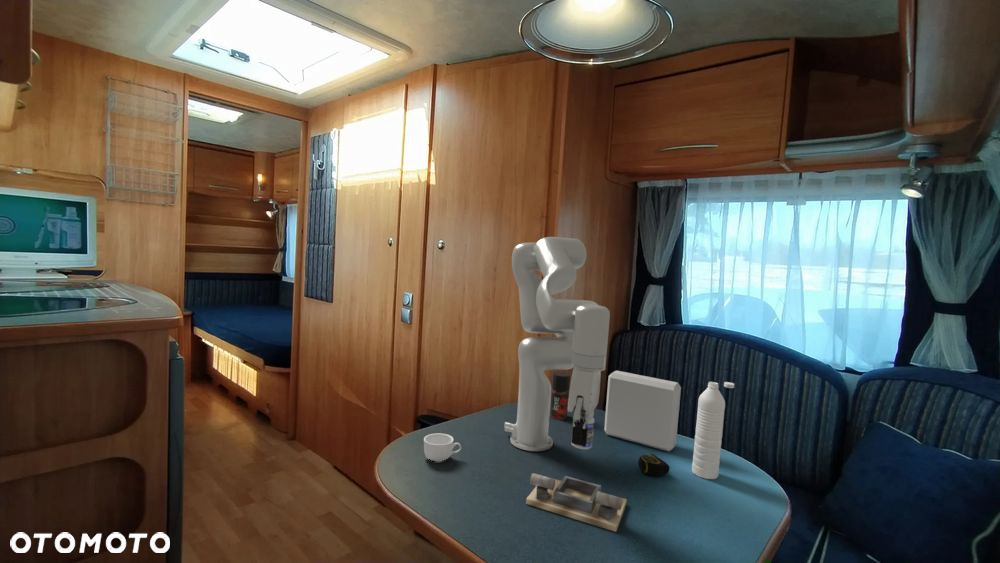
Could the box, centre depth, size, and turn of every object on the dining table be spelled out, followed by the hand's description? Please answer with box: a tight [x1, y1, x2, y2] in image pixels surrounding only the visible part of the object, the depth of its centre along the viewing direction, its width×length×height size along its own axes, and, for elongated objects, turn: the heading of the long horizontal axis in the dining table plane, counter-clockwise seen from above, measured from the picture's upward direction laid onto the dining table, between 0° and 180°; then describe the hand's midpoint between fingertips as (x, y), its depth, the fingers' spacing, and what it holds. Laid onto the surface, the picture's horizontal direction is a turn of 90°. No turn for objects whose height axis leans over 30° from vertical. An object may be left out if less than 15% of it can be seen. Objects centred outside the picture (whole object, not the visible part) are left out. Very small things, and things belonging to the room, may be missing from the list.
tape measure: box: [637, 453, 670, 477], centre depth 122 cm, size 7×7×4 cm
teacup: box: [423, 432, 462, 461], centre depth 122 cm, size 10×8×5 cm
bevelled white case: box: [603, 370, 682, 452], centre depth 142 cm, size 21×8×20 cm, turn 58°
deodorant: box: [549, 371, 571, 421], centre depth 159 cm, size 6×6×15 cm
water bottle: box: [691, 381, 735, 480], centre depth 122 cm, size 9×6×25 cm
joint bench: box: [525, 472, 627, 533], centre depth 104 cm, size 20×12×6 cm, turn 65°
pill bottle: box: [570, 409, 596, 450], centre depth 103 cm, size 5×5×8 cm
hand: (582, 439), depth 103 cm, fingers closed on pill bottle, 4 cm apart
